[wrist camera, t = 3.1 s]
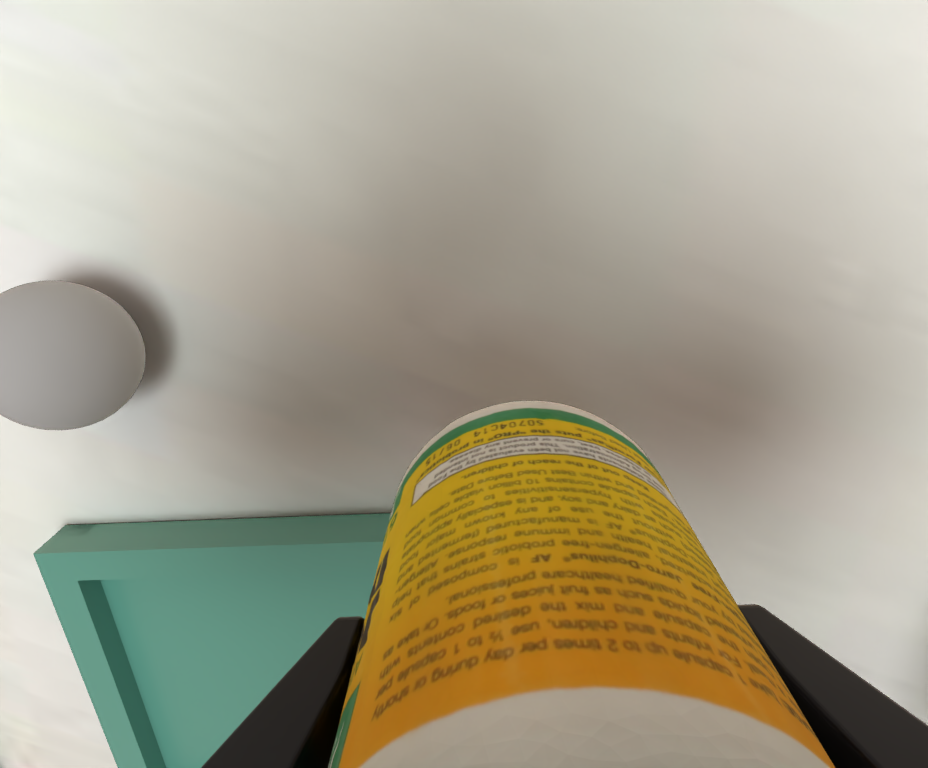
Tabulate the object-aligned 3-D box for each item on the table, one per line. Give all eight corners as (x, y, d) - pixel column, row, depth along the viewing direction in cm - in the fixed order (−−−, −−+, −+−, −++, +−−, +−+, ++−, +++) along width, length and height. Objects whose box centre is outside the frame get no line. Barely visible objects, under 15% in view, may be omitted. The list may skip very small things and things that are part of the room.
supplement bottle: (679, 589, 12) (1239, 1759, 3) (437, 640, 13) (355, 1745, 4) (635, 356, 10) (1646, 1582, 1) (354, 429, 11) (-167, 1614, 2)
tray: (470, 781, 22) (470, 820, 20) (160, 786, 22) (140, 826, 21) (450, 511, 17) (447, 539, 16) (65, 525, 18) (33, 553, 17)
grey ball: (185, 393, 16) (110, 453, 13) (61, 398, 16) (-45, 460, 13) (153, 264, 15) (60, 294, 12) (19, 272, 15) (-112, 304, 12)
